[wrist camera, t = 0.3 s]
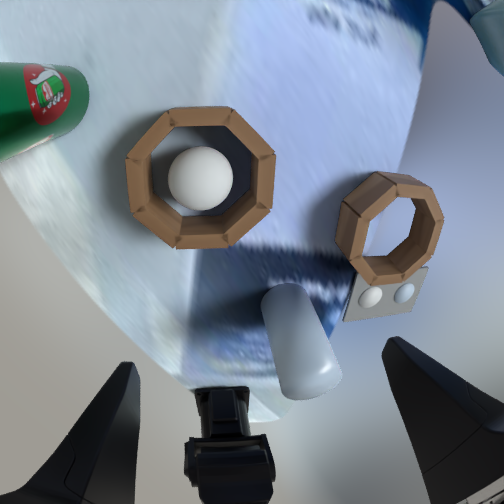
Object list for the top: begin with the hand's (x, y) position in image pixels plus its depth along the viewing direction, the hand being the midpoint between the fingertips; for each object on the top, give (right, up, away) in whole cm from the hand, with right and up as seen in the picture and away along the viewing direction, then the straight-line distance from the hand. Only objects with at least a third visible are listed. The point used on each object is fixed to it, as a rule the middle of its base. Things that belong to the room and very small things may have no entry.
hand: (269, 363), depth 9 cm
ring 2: (+11, +6, +14) cm, 19 cm away
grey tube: (+2, -1, +17) cm, 17 cm away
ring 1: (-4, +9, +10) cm, 14 cm away
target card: (+13, -1, +19) cm, 23 cm away
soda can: (-14, +14, +6) cm, 21 cm away
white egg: (-4, +9, +10) cm, 14 cm away
